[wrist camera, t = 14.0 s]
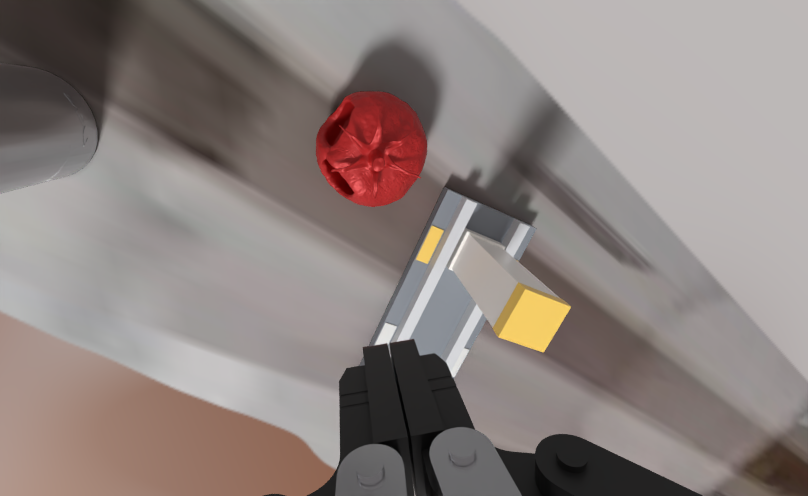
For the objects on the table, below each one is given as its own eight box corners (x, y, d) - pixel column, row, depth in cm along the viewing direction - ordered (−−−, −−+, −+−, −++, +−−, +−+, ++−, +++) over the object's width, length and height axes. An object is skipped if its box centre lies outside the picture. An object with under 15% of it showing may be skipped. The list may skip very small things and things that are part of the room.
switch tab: (481, 277, 44) (545, 355, 31) (444, 263, 43) (494, 337, 30) (500, 242, 43) (574, 306, 30) (463, 227, 42) (523, 286, 28)
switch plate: (437, 394, 51) (443, 411, 48) (356, 372, 48) (357, 388, 45) (530, 224, 45) (543, 232, 42) (444, 186, 42) (451, 192, 39)
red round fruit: (422, 98, 39) (450, 95, 31) (412, 200, 42) (435, 223, 34) (318, 87, 37) (315, 80, 29) (315, 194, 40) (312, 218, 32)
